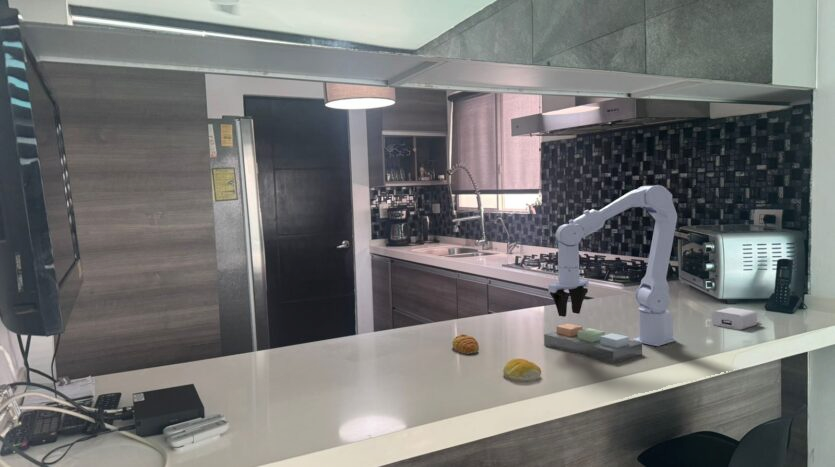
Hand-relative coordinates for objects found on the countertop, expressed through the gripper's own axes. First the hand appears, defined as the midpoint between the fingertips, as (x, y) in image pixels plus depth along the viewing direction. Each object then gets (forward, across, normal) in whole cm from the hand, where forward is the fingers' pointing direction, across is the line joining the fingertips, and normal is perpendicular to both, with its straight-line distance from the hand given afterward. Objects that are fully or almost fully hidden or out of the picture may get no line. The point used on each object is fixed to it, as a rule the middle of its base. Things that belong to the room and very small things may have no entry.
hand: (569, 314), depth 157 cm
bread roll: (+9, +30, +12) cm, 33 cm away
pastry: (+9, +26, -14) cm, 31 cm away
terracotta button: (+6, 0, 0) cm, 6 cm away
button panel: (+8, 0, +8) cm, 11 cm away
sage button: (+6, 0, +7) cm, 10 cm away
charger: (+9, -58, +18) cm, 61 cm away
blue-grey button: (+6, 0, +15) cm, 16 cm away
